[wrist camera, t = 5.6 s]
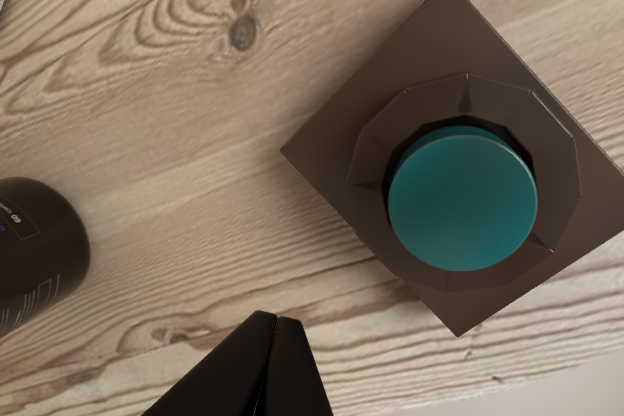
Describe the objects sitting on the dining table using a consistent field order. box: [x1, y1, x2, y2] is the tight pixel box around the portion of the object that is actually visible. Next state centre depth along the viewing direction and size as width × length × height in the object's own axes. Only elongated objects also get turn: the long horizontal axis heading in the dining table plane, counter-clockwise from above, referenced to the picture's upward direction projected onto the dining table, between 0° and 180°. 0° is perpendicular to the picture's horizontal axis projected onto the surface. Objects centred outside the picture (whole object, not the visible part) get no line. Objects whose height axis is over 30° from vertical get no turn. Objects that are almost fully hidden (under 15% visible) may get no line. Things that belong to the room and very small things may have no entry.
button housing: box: [280, 0, 624, 337], centre depth 16 cm, size 10×8×4 cm
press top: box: [388, 126, 538, 271], centre depth 14 cm, size 4×4×2 cm
